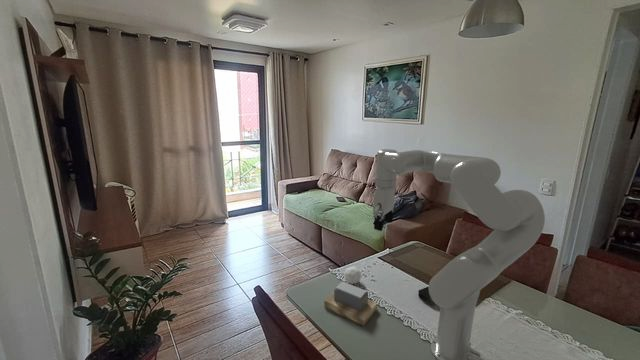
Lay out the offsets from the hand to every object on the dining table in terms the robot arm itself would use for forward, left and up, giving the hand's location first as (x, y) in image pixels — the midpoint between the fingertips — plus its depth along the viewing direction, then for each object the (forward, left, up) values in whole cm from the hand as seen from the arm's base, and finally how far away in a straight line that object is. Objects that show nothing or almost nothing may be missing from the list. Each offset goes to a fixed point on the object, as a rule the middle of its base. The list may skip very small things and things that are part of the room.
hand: (383, 225), depth 112 cm
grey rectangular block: (+8, +10, -31) cm, 34 cm away
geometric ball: (+16, -6, -34) cm, 38 cm away
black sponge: (-18, -18, -35) cm, 44 cm away
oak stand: (+8, +10, -34) cm, 37 cm away
